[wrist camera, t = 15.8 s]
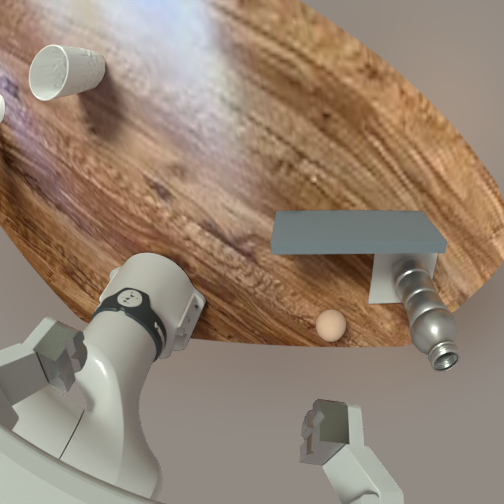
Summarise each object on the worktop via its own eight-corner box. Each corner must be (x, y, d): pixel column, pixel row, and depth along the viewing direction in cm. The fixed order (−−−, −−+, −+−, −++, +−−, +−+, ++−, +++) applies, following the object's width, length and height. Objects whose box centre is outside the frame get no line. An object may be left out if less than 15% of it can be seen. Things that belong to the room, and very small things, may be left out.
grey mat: (426, 299, 50) (426, 301, 49) (368, 302, 51) (368, 303, 51) (438, 244, 44) (439, 245, 44) (375, 244, 46) (375, 245, 46)
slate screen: (416, 247, 45) (438, 282, 37) (278, 247, 49) (273, 285, 40) (421, 211, 43) (447, 241, 34) (276, 211, 46) (270, 242, 37)
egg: (321, 299, 52) (322, 323, 47) (349, 306, 52) (352, 329, 47) (311, 321, 55) (311, 345, 50) (338, 327, 55) (340, 351, 50)
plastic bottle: (406, 244, 45) (452, 333, 28) (432, 266, 46) (479, 354, 29) (379, 273, 48) (409, 369, 31) (406, 293, 49) (440, 385, 32)
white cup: (117, 60, 38) (78, 58, 29) (93, 102, 41) (52, 110, 32) (85, 39, 36) (44, 36, 27) (63, 80, 39) (21, 85, 31)
